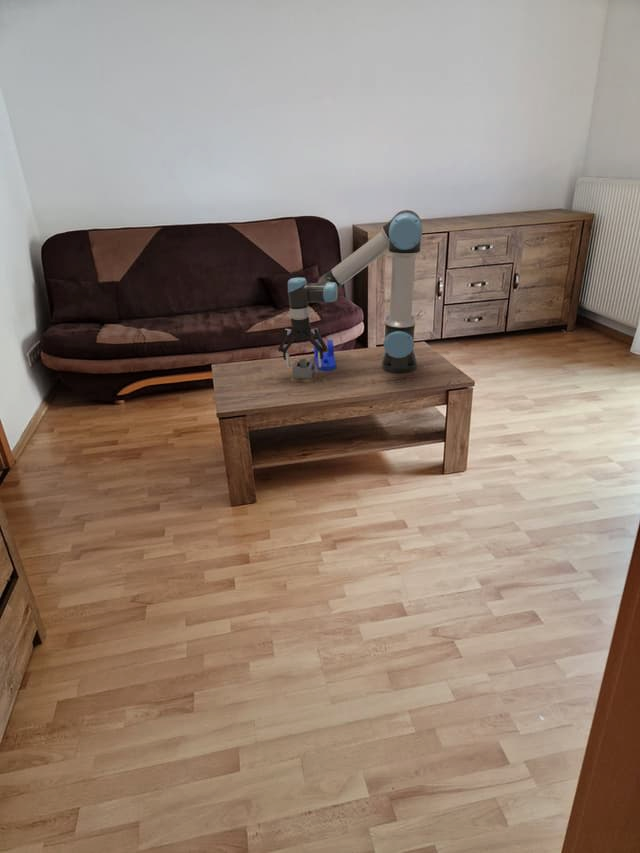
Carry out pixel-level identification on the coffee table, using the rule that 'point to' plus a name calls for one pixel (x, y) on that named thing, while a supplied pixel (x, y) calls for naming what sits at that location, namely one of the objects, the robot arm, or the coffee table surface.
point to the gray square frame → (303, 370)
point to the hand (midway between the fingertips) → (304, 366)
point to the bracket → (326, 357)
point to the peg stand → (304, 363)
